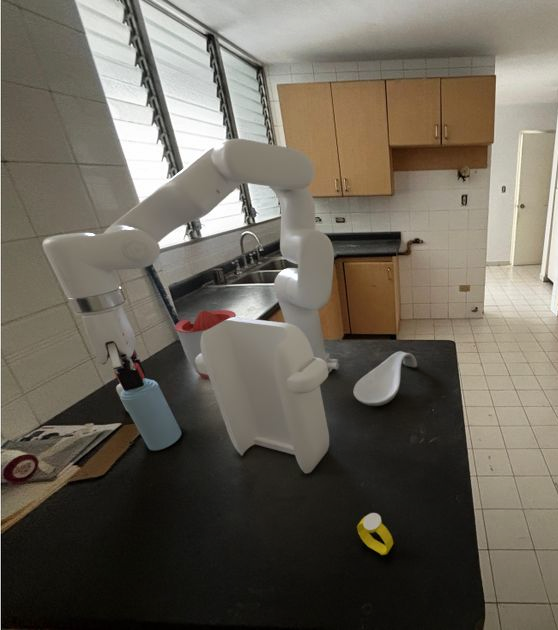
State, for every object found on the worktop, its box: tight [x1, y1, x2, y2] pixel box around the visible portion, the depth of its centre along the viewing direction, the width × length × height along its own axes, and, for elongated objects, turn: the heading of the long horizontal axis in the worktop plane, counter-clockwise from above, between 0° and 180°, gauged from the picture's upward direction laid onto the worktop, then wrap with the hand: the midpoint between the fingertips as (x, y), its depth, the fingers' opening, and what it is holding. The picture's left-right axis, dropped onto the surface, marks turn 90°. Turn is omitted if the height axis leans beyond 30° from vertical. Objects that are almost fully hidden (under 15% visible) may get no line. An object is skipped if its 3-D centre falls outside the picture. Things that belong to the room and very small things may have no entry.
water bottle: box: [119, 377, 182, 451], centre depth 73 cm, size 6×6×19 cm
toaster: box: [195, 316, 330, 475], centre depth 67 cm, size 27×11×30 cm, turn 71°
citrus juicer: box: [174, 309, 237, 380], centre depth 101 cm, size 16×17×20 cm
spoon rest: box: [353, 350, 418, 407], centre depth 91 cm, size 24×12×7 cm, turn 153°
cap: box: [113, 363, 145, 384], centre depth 69 cm, size 4×4×3 cm
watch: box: [356, 512, 394, 556], centre depth 51 cm, size 6×3×6 cm, turn 59°
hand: (135, 381), depth 70 cm, fingers closed on cap, 3 cm apart
